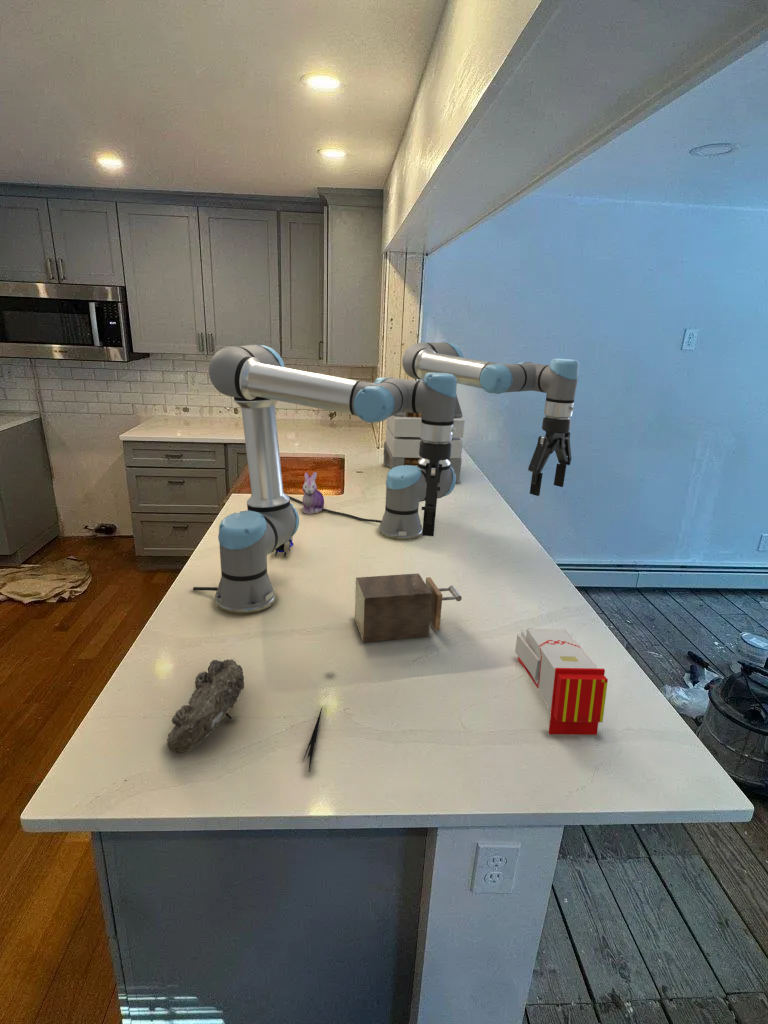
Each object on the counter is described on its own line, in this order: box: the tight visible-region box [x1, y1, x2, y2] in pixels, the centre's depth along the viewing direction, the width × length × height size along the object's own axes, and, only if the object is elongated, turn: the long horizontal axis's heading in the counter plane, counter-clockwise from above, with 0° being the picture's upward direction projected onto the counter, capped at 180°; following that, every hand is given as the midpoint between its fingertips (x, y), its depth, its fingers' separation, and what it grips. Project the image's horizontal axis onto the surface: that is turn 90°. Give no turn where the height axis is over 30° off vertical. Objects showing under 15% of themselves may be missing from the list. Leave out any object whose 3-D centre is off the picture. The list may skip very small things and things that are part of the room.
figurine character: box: [271, 536, 294, 558], centre depth 181 cm, size 7×8×15 cm
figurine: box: [301, 471, 325, 515], centre depth 216 cm, size 9×10×15 cm
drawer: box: [425, 576, 463, 632], centre depth 141 cm, size 21×10×10 cm, turn 104°
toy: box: [514, 627, 609, 736], centre depth 119 cm, size 12×13×30 cm
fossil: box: [166, 658, 245, 754], centre depth 106 cm, size 22×10×15 cm
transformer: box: [383, 396, 465, 484], centre depth 268 cm, size 34×33×41 cm
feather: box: [301, 673, 332, 771], centre depth 108 cm, size 2×28×2 cm
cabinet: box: [354, 572, 432, 643], centre depth 139 cm, size 16×11×12 cm, turn 104°
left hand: (429, 525), depth 140 cm, fingers open, 13 cm apart
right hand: (546, 490), depth 164 cm, fingers open, 13 cm apart
